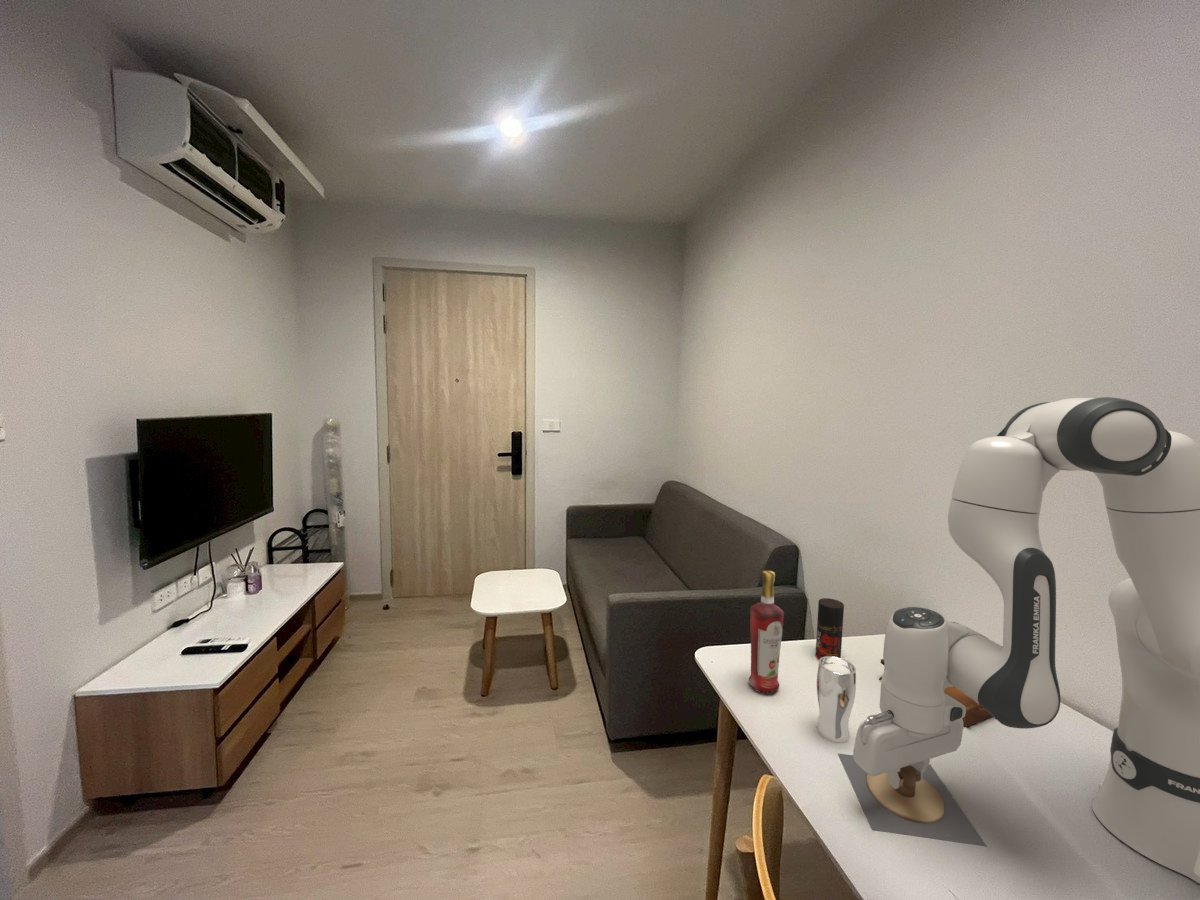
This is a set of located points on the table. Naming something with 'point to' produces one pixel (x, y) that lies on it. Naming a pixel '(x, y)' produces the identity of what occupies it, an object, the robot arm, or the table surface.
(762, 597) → the liquor
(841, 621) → the deodorant
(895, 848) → the table surface
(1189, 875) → the robot arm
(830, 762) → the table surface
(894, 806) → the oak lid
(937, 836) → the rubber mat
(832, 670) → the beer glass
